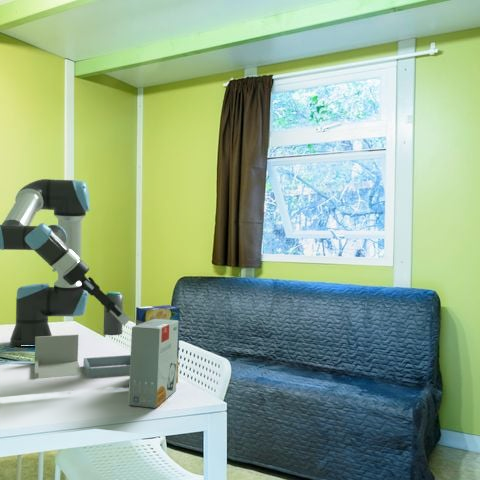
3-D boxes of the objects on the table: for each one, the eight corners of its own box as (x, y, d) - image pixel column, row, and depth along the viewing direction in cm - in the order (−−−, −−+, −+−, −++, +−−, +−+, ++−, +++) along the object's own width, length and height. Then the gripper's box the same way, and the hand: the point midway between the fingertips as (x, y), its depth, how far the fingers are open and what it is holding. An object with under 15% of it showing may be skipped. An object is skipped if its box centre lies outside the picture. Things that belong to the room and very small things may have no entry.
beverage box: (133, 381, 141) (135, 307, 141) (167, 376, 148) (169, 305, 148) (144, 388, 136) (146, 310, 136) (178, 382, 142) (180, 307, 142)
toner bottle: (102, 332, 149) (103, 291, 150) (120, 331, 152) (121, 291, 152) (104, 335, 144) (105, 293, 144) (123, 334, 147) (124, 293, 147)
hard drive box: (156, 409, 119) (158, 328, 119) (127, 406, 120) (129, 327, 120) (177, 390, 134) (178, 319, 134) (151, 388, 136) (153, 317, 136)
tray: (83, 370, 151) (83, 358, 151) (133, 366, 158) (133, 354, 158) (87, 382, 139) (88, 369, 139) (141, 378, 145) (142, 364, 145)
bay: (34, 367, 153) (35, 336, 153) (77, 364, 158) (78, 334, 158) (34, 383, 137) (35, 348, 137) (82, 379, 142) (83, 345, 142)
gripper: (59, 274, 151) (111, 324, 157) (63, 279, 134) (121, 335, 140) (78, 258, 153) (128, 308, 159) (83, 260, 136) (140, 316, 142)
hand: (125, 320), depth 149 cm, fingers closed on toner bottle, 6 cm apart
